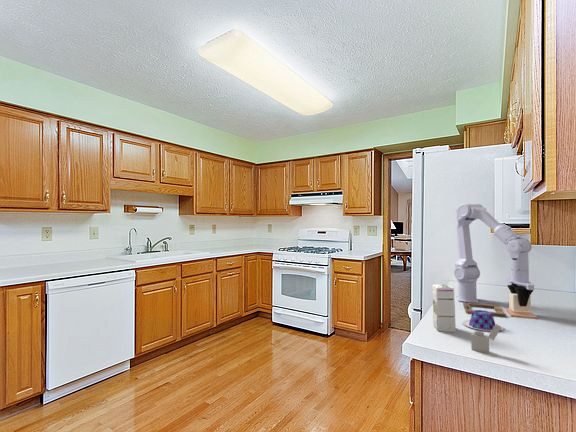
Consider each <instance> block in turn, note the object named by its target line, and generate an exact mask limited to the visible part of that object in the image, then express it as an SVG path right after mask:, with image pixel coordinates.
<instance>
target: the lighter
mask: <svg viewBox="0 0 576 432" xmlns="http://www.w3.org/2000/svg"><path fill="white" fill-rule="evenodd" d="M498 324H499V323H497V324H495V326H494V328H493V329H492V331H490V333H489V334H488V335H486V334H485V332H484V331H482V330H476V331H474V332H472V333H471V335H470V337H471V338H470V340H471V343H470V344H471V351H474V352H479V353H485V354H489V353H490V340H492V341H495V339H496V338H497V336H498V334H499V333H500V331H501V330H500V329H501V326H502V325H501V326H499V325H500V324H499V325H498Z"/></svg>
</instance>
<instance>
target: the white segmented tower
mask: <svg viewBox="0 0 576 432" xmlns="http://www.w3.org/2000/svg"><path fill="white" fill-rule="evenodd" d="M455 303H456V302H455V288H454V286H453V287H452V286H451V285H450V284H444V283H443V284H441V283H439V284H432V306H433V307H432V313H433V315H432V317H433V319H432V320H433V327H434V328H435V329H436V331H438V332H445V333H446V332H447V333H456V327H457V326H456V325H457V324H456V304H455Z"/></svg>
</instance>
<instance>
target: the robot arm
mask: <svg viewBox="0 0 576 432" xmlns="http://www.w3.org/2000/svg"><path fill="white" fill-rule="evenodd" d="M455 211H456V212H455V214H456V215H455V216H456V217H455V221H454V223H455V225H454V226H455V233H456V241H457V244H456V245H457V252H458V253H457V254H458V260H457V261H456V262H455V263H454V270H453V274H454V277H455V278H456V281H457V285H458V286H457V289H458V290H457V291H458V293H457V294H458V295H456V299H457V301H458V302H462V303H475V304H480V302H479V300H478V298H477V295H478V294H477V281H478V279H479V278H480V276H481V271H480V269H479V266H478V263H477V262H476V261H475V260H474V259H473V257H474V256H473V251H472V241H471V232H470V225H471V224H472V223H473V221H476V220H480V221H481V222H483V223H484V224H485V225H486V226H488V227H489V228H490V229H491V230H492V231H493V235H494V236H495V237H496V238H497V239H498V240H499V241H500V242H502V243H503V244H504V246H505V248H506V251H507V252H508V254H509V260H510V261H509V264H510V266H509V267H510V277H506V283H507V286H506V287H507V288H508V289H509V291H510V293H512V294H517V295H518V301H519V305H520V306H527V303H528V299H529V297H530V296H531V295H532V293H533V292H534V290H535V284H532V282H530V273H529V272H530V269H529V268H530V267H529V263H530V262H529V252H530V251H531V250H532V247H533V246H532V243H531V242H530V240H529V239H527V238H524V237H522V236H521V235H520V234H517V233H516V232H515V231H514V230H512V227H511V226H510V225H506V224H501V223H500V222H498V220H497V218H495V217H494V216H493V215H492V214H490V212H488V211H487V208H486V207H484V206H483V205H482V204H481V203H461V204H459V206H457V208H456V209H455Z"/></svg>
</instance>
